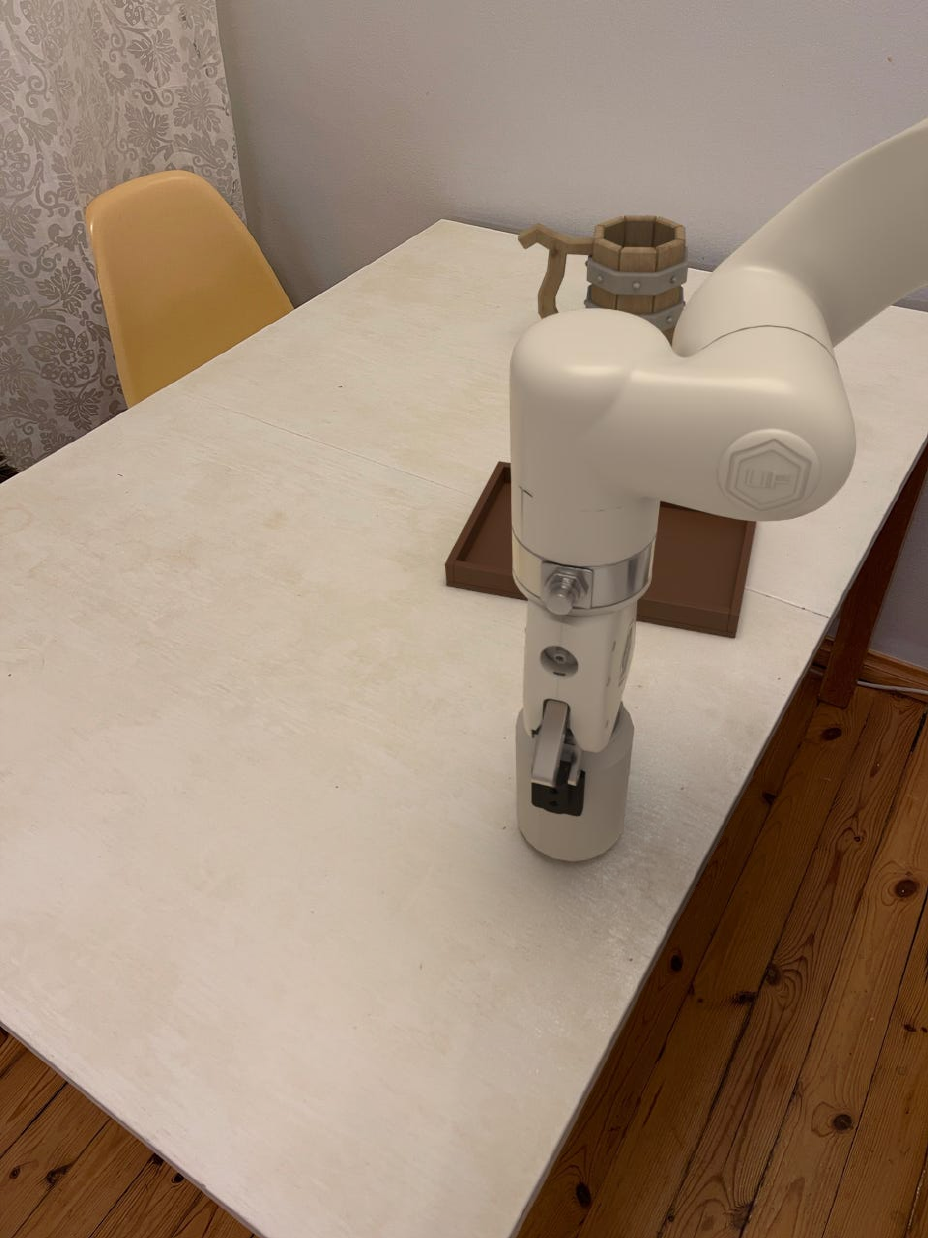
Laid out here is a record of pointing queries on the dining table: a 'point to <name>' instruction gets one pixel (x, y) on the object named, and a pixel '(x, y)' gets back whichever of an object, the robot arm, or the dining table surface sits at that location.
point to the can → (601, 796)
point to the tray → (682, 571)
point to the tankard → (621, 267)
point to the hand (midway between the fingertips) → (572, 757)
